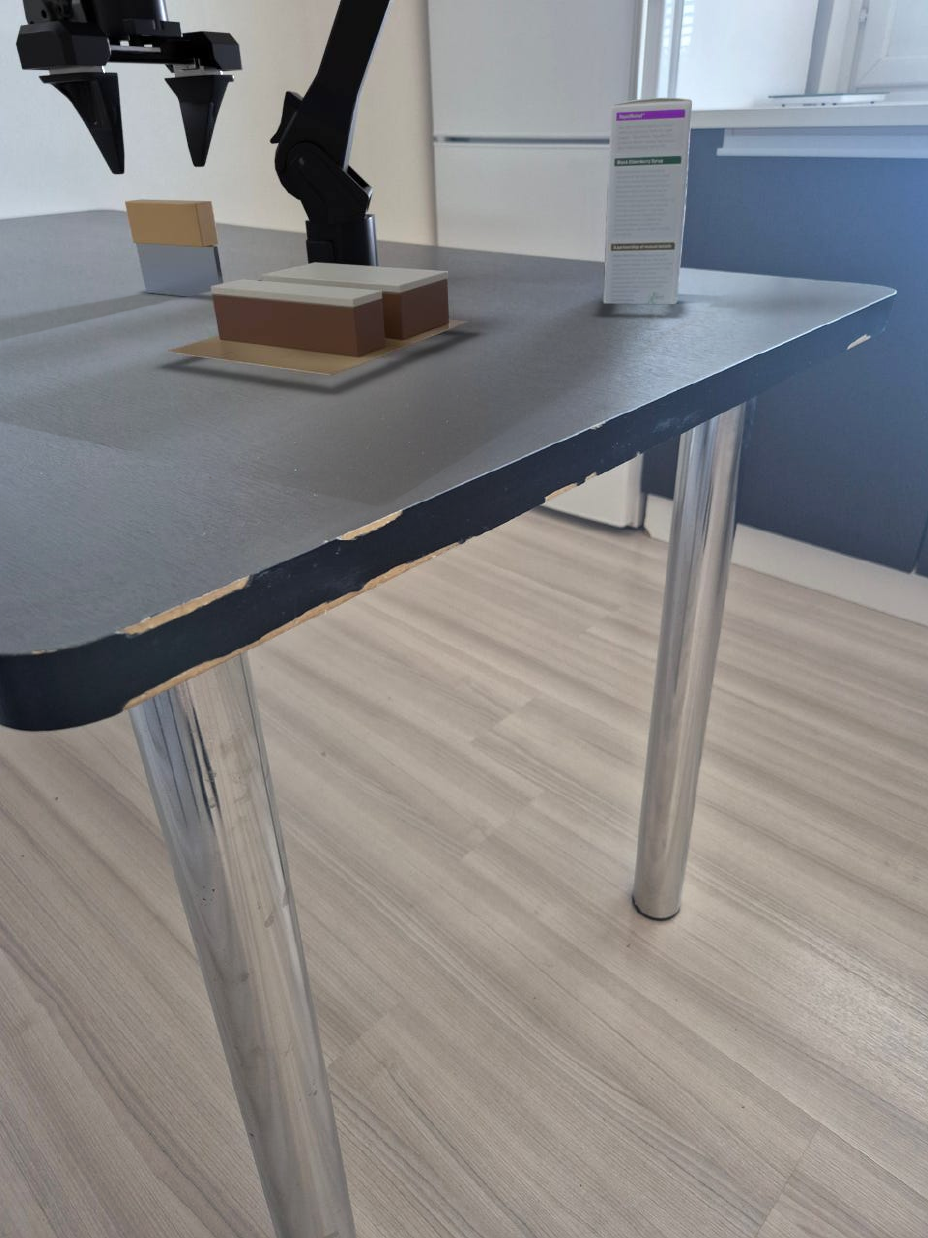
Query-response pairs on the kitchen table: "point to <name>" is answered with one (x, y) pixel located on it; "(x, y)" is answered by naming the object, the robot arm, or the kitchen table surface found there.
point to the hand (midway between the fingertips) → (160, 170)
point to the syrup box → (646, 200)
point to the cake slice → (300, 316)
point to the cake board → (297, 353)
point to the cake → (384, 292)
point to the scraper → (176, 245)
